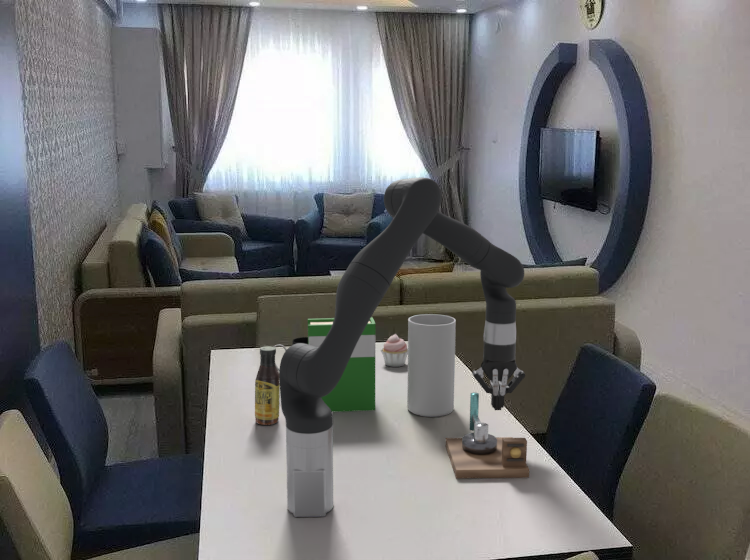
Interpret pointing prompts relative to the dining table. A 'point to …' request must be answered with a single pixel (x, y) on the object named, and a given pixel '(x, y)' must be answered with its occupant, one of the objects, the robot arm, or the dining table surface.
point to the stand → (490, 459)
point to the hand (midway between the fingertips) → (497, 409)
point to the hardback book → (350, 369)
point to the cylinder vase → (431, 364)
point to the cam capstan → (478, 432)
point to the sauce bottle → (267, 388)
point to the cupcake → (395, 351)
